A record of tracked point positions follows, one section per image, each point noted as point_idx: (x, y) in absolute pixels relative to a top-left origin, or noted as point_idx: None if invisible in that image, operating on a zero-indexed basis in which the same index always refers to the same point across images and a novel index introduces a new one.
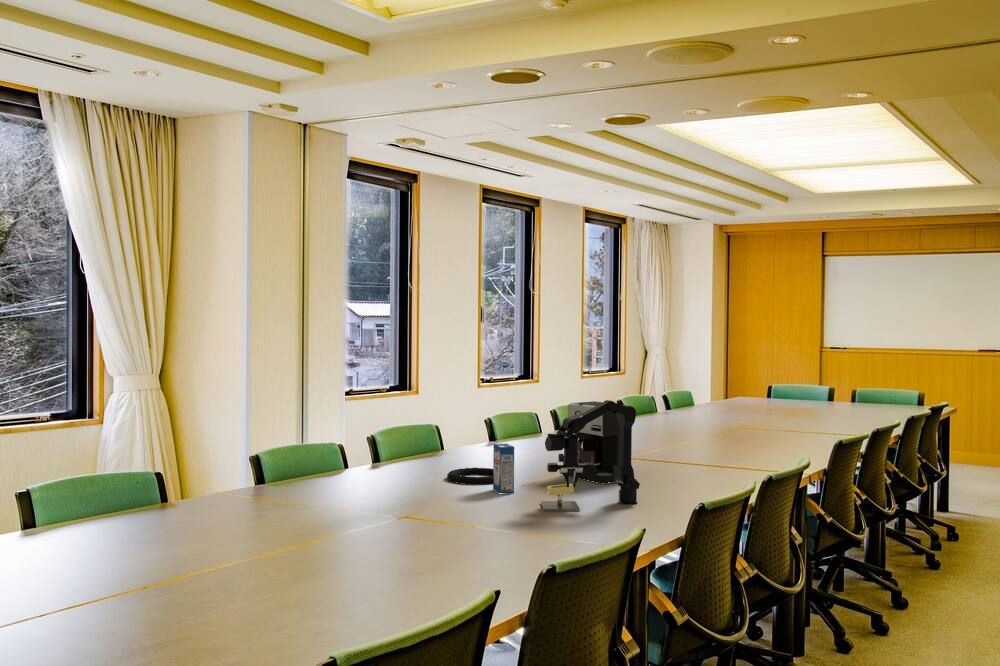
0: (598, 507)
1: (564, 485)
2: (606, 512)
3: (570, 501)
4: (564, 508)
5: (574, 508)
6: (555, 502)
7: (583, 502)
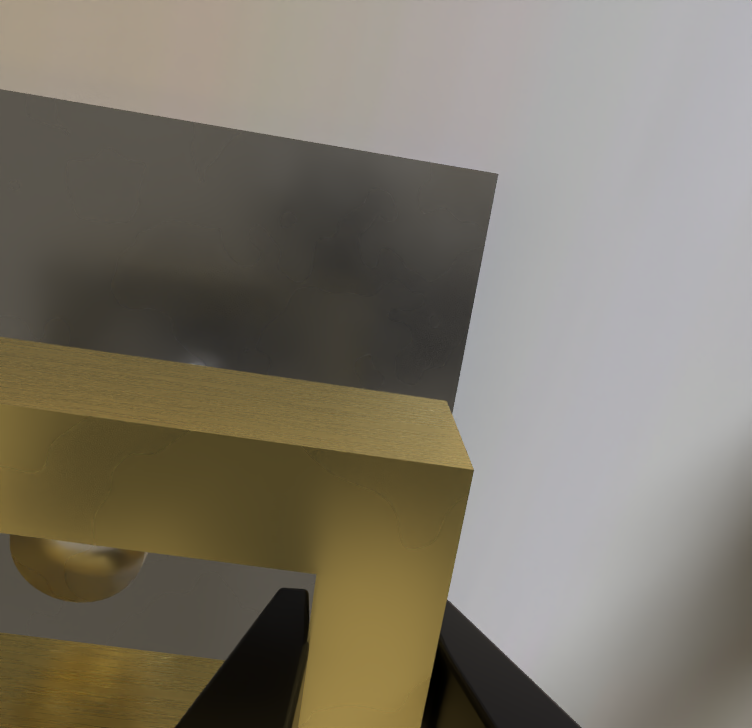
0: (714, 468)
1: (181, 545)
2: (686, 712)
3: (407, 193)
4: (190, 654)
5: None
6: (113, 235)
7: (649, 104)
